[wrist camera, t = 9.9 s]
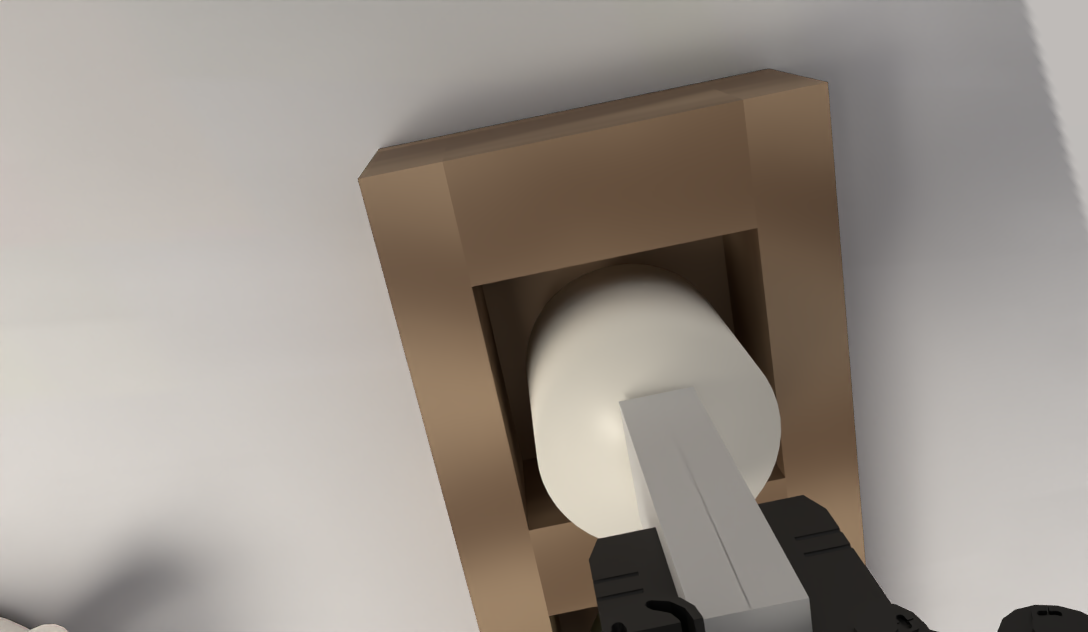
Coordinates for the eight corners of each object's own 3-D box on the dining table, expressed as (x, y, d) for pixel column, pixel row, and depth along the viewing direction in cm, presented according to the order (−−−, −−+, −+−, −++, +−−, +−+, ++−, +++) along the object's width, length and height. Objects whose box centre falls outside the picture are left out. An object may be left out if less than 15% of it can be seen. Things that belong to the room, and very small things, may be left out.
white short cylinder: (507, 286, 21) (513, 356, 17) (711, 244, 21) (768, 304, 17) (546, 466, 23) (560, 569, 19) (735, 427, 23) (791, 521, 19)
